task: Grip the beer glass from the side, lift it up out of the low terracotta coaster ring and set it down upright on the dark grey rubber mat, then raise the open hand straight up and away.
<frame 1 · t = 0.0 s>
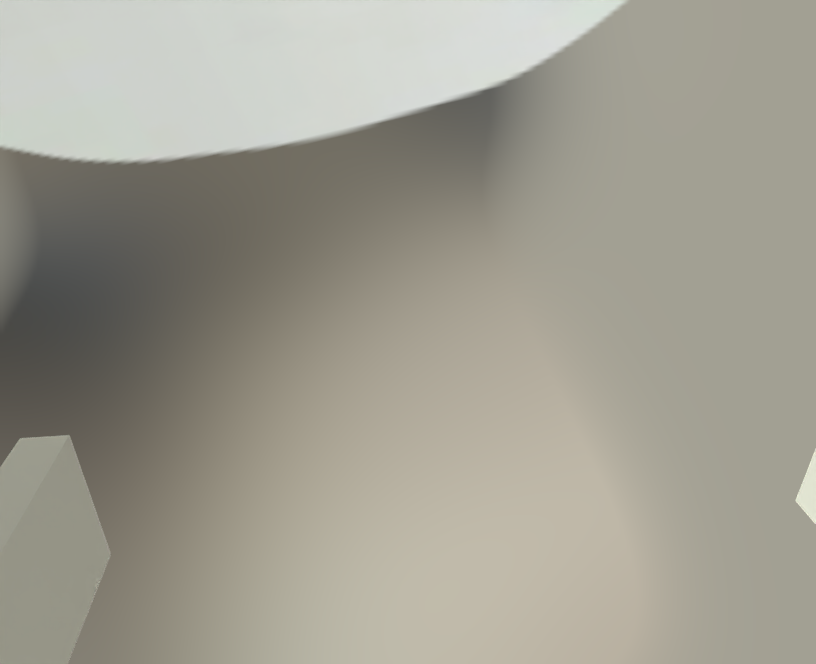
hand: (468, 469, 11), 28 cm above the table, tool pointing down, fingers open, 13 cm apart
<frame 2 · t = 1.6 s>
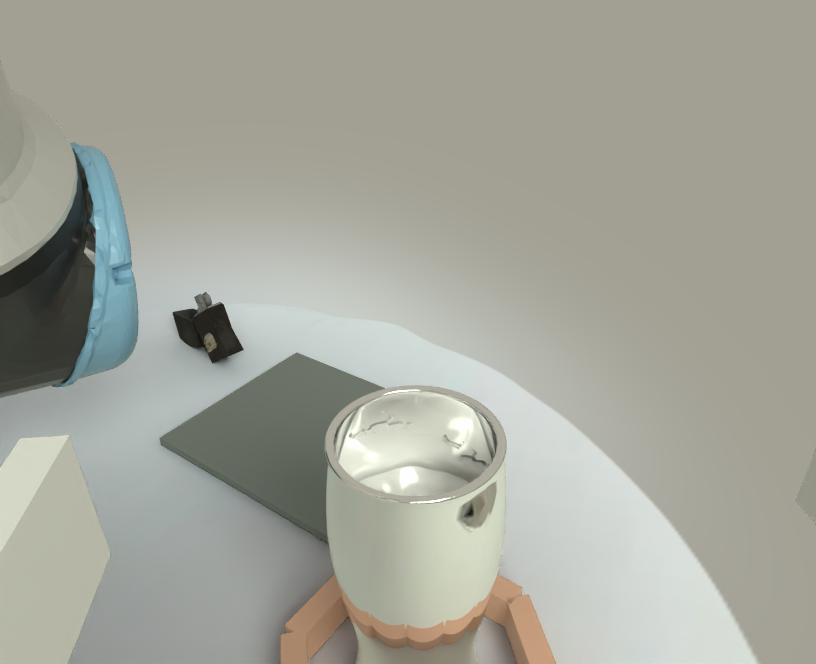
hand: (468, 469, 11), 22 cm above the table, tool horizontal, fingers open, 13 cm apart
mat: (320, 438, 46), on the table
lighter: (208, 357, 57), on the table
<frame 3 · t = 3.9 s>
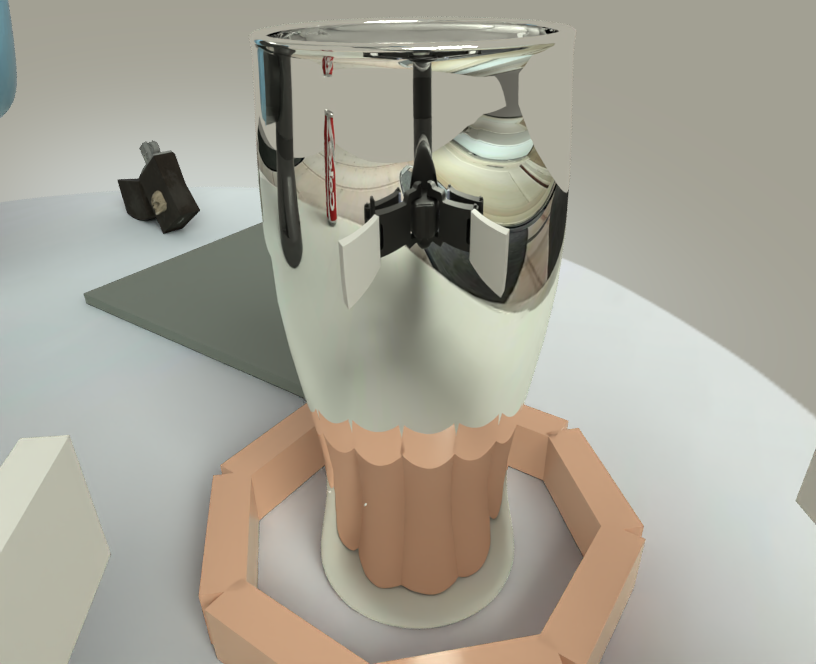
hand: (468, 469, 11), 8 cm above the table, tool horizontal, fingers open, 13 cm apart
beer glass: (417, 550, 21), resting in coaster ring
mat: (291, 295, 36), on the table
coaster ring: (417, 545, 20), on the table
lighter: (159, 230, 47), on the table
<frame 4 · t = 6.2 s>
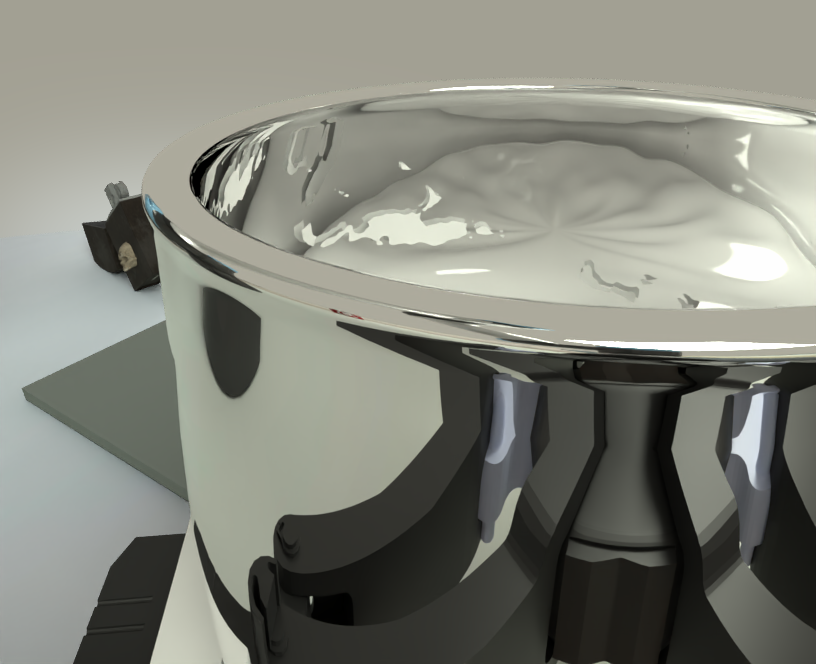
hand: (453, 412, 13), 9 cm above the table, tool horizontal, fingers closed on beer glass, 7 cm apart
mat: (287, 389, 28), on the table
lighter: (131, 285, 39), on the table
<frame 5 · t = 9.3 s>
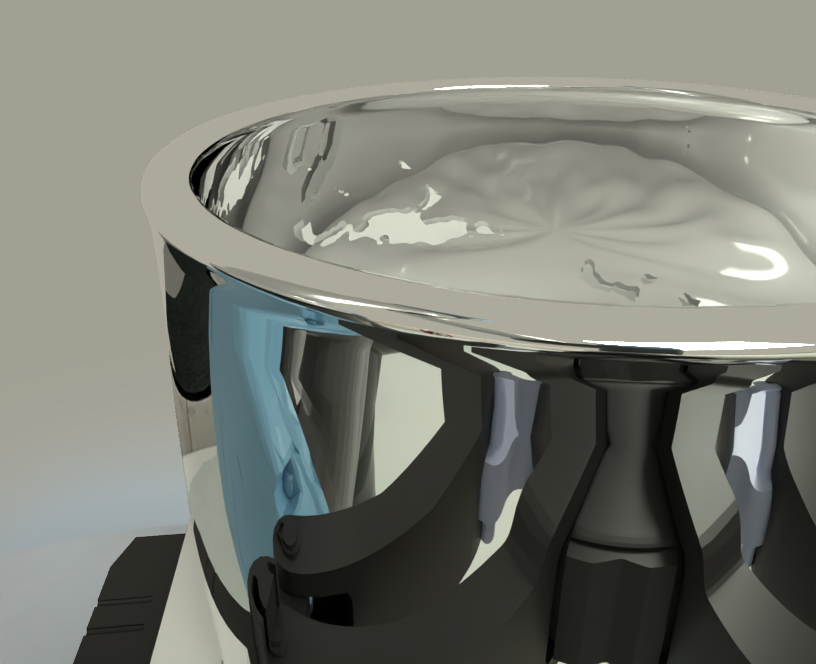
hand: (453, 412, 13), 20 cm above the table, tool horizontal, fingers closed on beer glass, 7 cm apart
when the fingers open (10 cm above the table, at t = 12.5 s): beer glass stays where it is, resting on mat.
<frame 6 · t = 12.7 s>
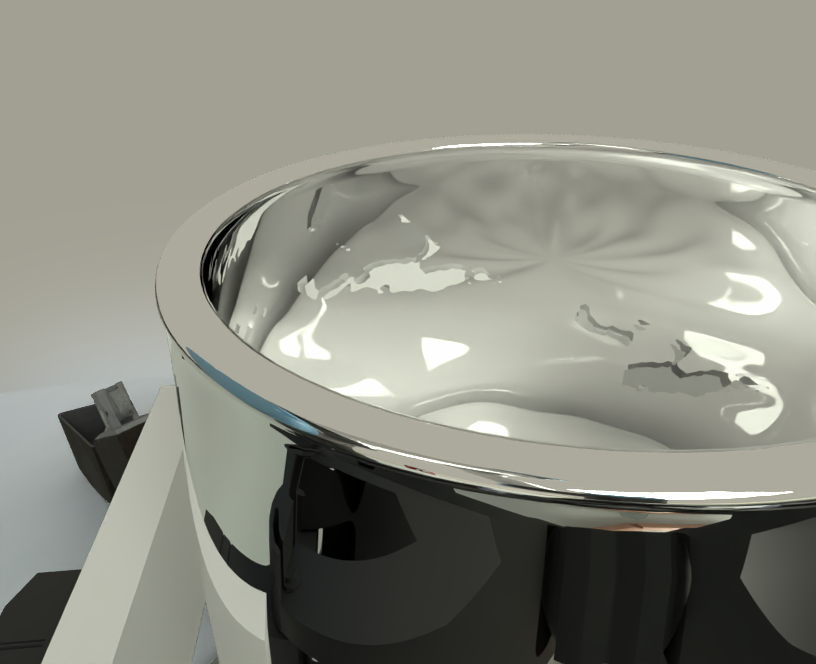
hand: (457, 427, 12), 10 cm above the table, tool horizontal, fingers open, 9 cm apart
lighter: (139, 526, 24), on the table
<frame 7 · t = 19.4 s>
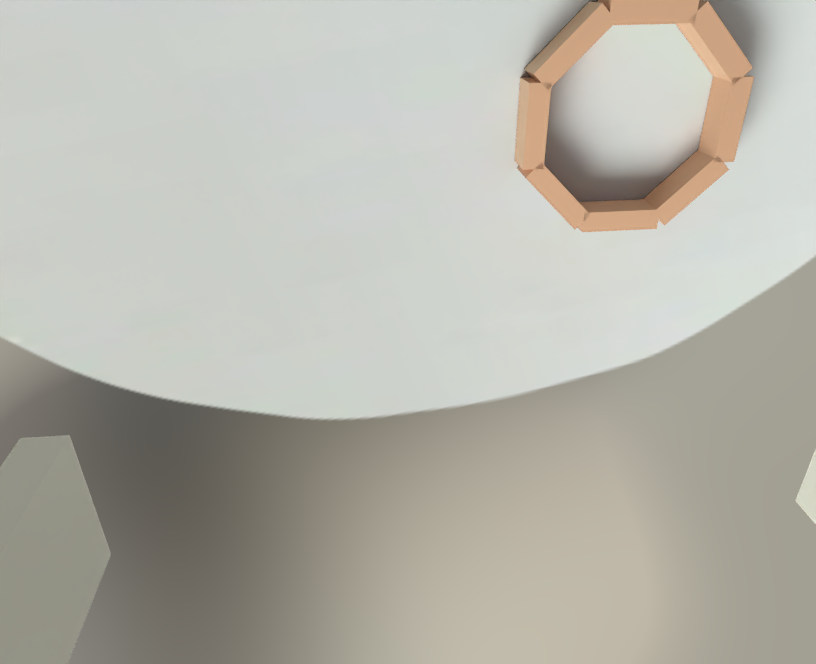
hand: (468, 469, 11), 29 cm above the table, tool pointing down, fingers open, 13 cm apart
coaster ring: (622, 116, 37), on the table
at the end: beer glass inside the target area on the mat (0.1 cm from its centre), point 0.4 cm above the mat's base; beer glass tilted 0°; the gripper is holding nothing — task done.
